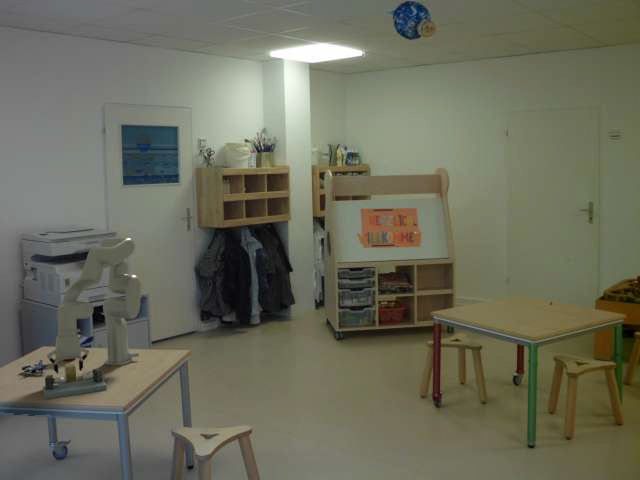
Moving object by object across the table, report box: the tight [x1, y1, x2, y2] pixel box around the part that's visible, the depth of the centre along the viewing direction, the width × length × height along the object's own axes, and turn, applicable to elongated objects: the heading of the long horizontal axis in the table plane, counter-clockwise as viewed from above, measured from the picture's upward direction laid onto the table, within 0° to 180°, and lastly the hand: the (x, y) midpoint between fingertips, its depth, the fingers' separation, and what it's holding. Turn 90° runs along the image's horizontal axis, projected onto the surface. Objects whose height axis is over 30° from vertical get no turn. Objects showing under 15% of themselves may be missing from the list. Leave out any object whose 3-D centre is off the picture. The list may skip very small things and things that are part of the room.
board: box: [42, 378, 108, 400], centre depth 288 cm, size 24×11×2 cm, turn 117°
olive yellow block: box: [63, 363, 77, 383], centre depth 300 cm, size 5×4×7 cm
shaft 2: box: [81, 367, 104, 383], centre depth 291 cm, size 8×4×5 cm, turn 132°
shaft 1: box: [44, 374, 66, 390], centre depth 285 cm, size 8×4×5 cm, turn 102°
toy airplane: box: [19, 359, 49, 378], centre depth 312 cm, size 13×14×4 cm
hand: (68, 371), depth 299 cm, fingers open, 9 cm apart
